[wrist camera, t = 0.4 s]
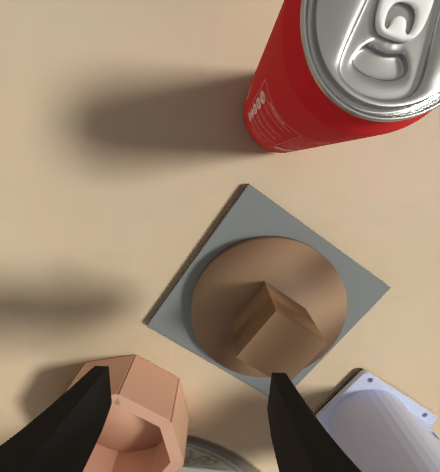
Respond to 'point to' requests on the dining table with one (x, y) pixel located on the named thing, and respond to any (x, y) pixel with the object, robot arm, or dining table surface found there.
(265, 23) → the dining table surface
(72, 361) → the dining table surface
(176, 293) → the mat
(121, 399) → the bowl
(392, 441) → the robot arm
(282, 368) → the brown disc
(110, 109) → the dining table surface
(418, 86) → the beverage can
